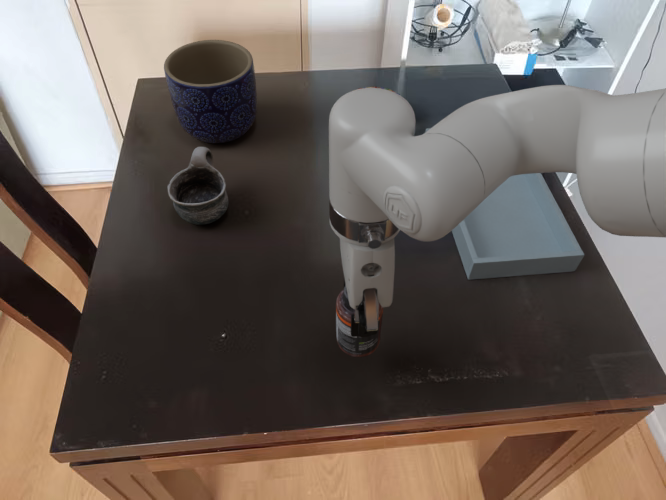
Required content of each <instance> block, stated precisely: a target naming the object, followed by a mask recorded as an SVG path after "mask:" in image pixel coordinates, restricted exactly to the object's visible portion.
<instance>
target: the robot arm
mask: <svg viewBox="0 0 666 500" xmlns="http://www.w3.org/2000/svg"><path fill="white" fill-rule="evenodd" d="M361 88H362V89H359V88H357V89H353V90H354V91H353V90H351V91H349V92H346V93H344V94H343V95H341V96H340V97H339V98H338V99H337V100H336V101H335V103H334V104H333V105H332V107H331V110H330V112H329V116H328V192H329V193H328V212H329V213H328V215H329V216H328V218H329V219H328V221H329V225H330V228H331V230H332V231H333V233H334V234H335V235H336V236H337V237H338V238H339V248H340V258H341V266H342V273H343V288H344V287H345V285H346V289H347V294H348V299H349V304H350V306H351V307H352V308H353V309H354V314H353V315H351V336H352V337H357V336H359V337H369V336H371V335H375V334H377V330H378V321H379V303H380V305H381V306H382V307H383V308H389V307H390V306H392V303H393V301H394V300H393V299H394V285H395V273H396V271H395V269H396V268H395V267H396V249H395V248H396V247H395V237H397V235H398V234H399V233H400V231H401V232H402V233H404V234H405V235H407V236H408V237H410V238H411V239H414V240H416V241H419V242H426V243H427V242H428V243H429V242H436V241H438V240H440V239H442V238H444V237H445V236H446V235H448V234H450V233H452V230H453V229H454V228H455V227H456V226H457V225H458V224H460V223H461V222H462V221H463V220H464V219H465V218H466V217H467V216H468V215H469V214H470V213H471V212H472V211H473V210H474V209H475V208H476V207H477V206H479V205H480V204H481V203H482V202H483V201H484V200H485V199H486V198H487V197H488V196H489V195H490V194H491V193H492V192H493V191H495V190H496V189H497V188H498V187H499V186H500V185H501V184H502V183H503V182H505V181H506V180H507V179H508V178H509V177H511V176H515V175H521V174H533V173H541V174H547V173H565V174H566V173H567V174H575V175H576V182H577V187H578V191H579V195H580V198H581V201H582V204H583V207H584V209H585V211H586V213H587V215H588V216H589V218H590V220H591V221H592V222H593V223H594V224H595V225H596V226H598V228H600V229H601V230H602V231H603V232H604V231H605V232H607V233H609V234H611V235H614V236H619V237H633V238H634V237H635V238H636V237H637V238H638V237H641V238H642V237H644V238H666V88H659V89H653V90H648V91H647V90H646V91H639V92H632V93H625V94H610V93H607V92H604V91H601V90H597V89H592V88H585V87H579V86H576V85H569V84H551V85H541V86H535V87H529V88H524V89H519V90H514V91H509V92H504V93H499V94H498V93H497V94H493V95H489V96H485V97H481V98H479V99H476V100H475V99H474V100H473V101H470V102H468V103H465V104H464V105H462V106H461V107H458V108H457V109H455V110H454V111H452V112H451V113H450V114H448V115H446V116H445V117H444V118H442V119H441V120H439V121H438V122H437V123H435V124H434V125H433V126H432V127H430V128H431V129H429V130H428V131H427V132H425V131H424V133H423V134H420V135H415V134H416V123H417V122H416V113H415V111H414V108H413V107H412V105H411V104H410V103H409V101H408V100H407V99H406V98H404V96H402V95H401V94H400V93H398V92H397V93H398V94H397V93H395V92H396V91H395V92H392V91H389V90H386V89H381V88H378V87H377V88H375V87H374V88H367V87H366V88H363V87H361ZM399 94H400V95H399ZM363 305H364V311H361V312H359V306H363Z"/></svg>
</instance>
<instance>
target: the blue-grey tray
mask: <svg viewBox="0 0 666 500" xmlns="http://www.w3.org/2000/svg"><path fill="white" fill-rule="evenodd" d="M431 128H432V127H427V128H425V130H424V133H425V132H427V131H428V130H429V129H431ZM451 233H452V236H453V239H454V242H455V245H456V249H457V251H458V255H459V257H460V260H461V263H462V265H463V269H464V272H465V274H466V277H467V280H468V281H470V280H472V281H473V280H483V279H496V278H506V277H507V278H508V277H521V276H533V275H544V274H545V275H546V274H547V275H549V274H557V273H558V274H560V273H573V272H576V270H577V269H578V267H579V265H580V264H581V262H582V260H583V258H584V257H585V253H584V251H583V249H582V247H581V246H580V244H579V242H578V240H577V238H576V235H574V233H573V231H572V229H571V227H570V225H569V223H568V221H567V219H566V218H565V216H564V214H563V211H562V210H561V208H560V206H559V204H558V202H557V201H556V199H555V197H554V195H553V193H552V191H551V189H550V187H549V186H548V184H547V182H546V180H545V178H544V176H543V173H533V174H521V175H515V176H511V177H509V178H508V179H507V180H506V181H505V182H503V183H502V184H501V185H500V186H499V187H498V188H497V189H496V190H495V191H493V192H492V193H491V194H490V195H489V196H488V197H487V198H486V199H485V200H484V201H483V202H482V203H481V204H480V205H479V206H477V207H476V208H475V209H474V210H473V211H472V212H471V213H470V214H469V215H468V216H467V217H466V218H465V219H464V220H463V221H462V222H461V223H460V224H458V225H457V226H456V227H455V228H454V229H453V230H452V231H451Z"/></svg>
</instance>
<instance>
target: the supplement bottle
mask: <svg viewBox="0 0 666 500" xmlns="http://www.w3.org/2000/svg"><path fill="white" fill-rule="evenodd" d="M335 301H336V302H335V332H336V333H335V334H336V343H337V346H338V347H339V349H340V350H341V351H342V352H343V353H345V354H346V355H348V356H350V357H354V358H362V357H363V358H364V357H367V356H369V355H372V354H373V353H374V352H375V351H376V350H377V349H378V347H379V345H380V343H381V336H382V325H383V315H384V307H382V306H381V305H380V303H379V321H378V330H377V334H375V335H371V336H369V337H359V336H357V337H352V336H351V315H353V314H354V309H353V308H352V307H351V306H350V304H349V299H348V294H347V289H346V285H345V287H344V286H343V289H342V290H341V291H339V293H338V295H337V297H336V300H335ZM361 311H364V305H363V306H359V312H361Z"/></svg>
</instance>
